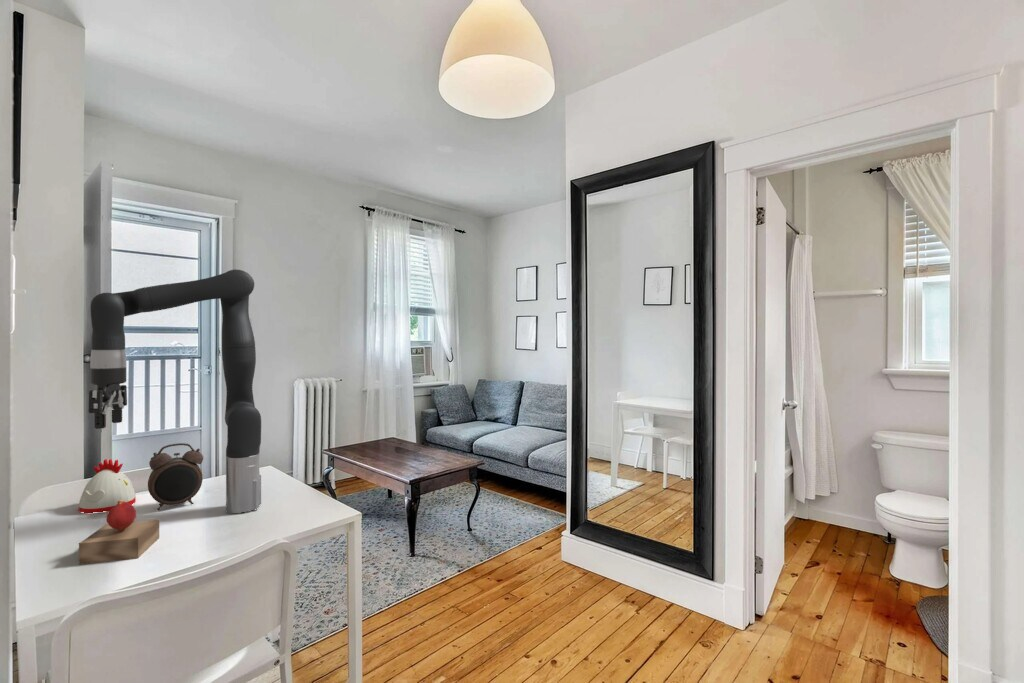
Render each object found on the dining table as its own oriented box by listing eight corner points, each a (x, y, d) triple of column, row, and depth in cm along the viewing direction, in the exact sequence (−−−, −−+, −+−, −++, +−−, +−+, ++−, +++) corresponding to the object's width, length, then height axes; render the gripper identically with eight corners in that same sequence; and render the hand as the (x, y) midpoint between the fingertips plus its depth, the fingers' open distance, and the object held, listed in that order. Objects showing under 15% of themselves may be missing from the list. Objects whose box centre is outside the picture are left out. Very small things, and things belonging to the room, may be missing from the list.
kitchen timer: (114, 513, 146) (114, 465, 145) (66, 514, 144) (66, 465, 144) (145, 498, 159) (145, 453, 159) (102, 498, 158) (102, 454, 158)
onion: (118, 526, 124) (118, 495, 124) (141, 525, 124) (141, 495, 124) (100, 535, 118) (100, 503, 118) (125, 535, 118) (125, 503, 118)
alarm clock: (148, 514, 145) (147, 449, 144) (147, 507, 150) (147, 445, 150) (204, 504, 154) (204, 443, 154) (202, 498, 159) (202, 439, 159)
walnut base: (159, 537, 128) (159, 519, 128) (138, 558, 117) (138, 537, 117) (106, 543, 125) (106, 524, 125) (79, 564, 114) (79, 543, 114)
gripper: (111, 368, 124) (111, 429, 124) (137, 364, 138) (137, 420, 138) (76, 368, 122) (76, 431, 122) (106, 364, 135) (106, 421, 136)
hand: (108, 425), depth 130 cm, fingers open, 8 cm apart
